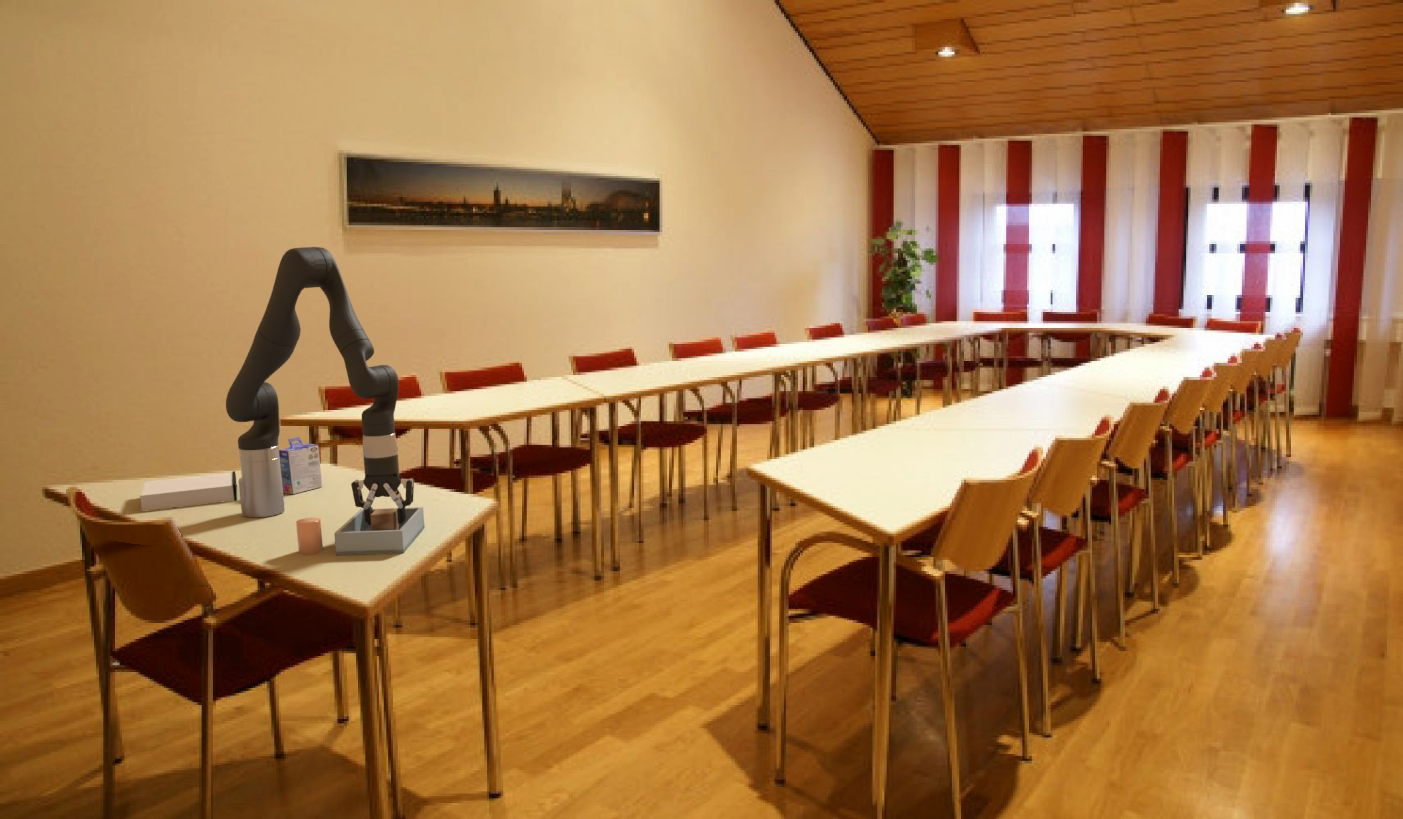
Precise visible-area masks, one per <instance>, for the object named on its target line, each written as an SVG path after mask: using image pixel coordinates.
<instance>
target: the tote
mask: <svg viewBox="0 0 1403 819" xmlns="http://www.w3.org/2000/svg"><path fill="white" fill-rule="evenodd" d="M393 508H394V507H393ZM393 508H392V507H389V508H388V507H387V508H385V507H384V508H383V509H393ZM376 509H377V508H373V512H374V511H375V510H376ZM405 513H406V519H405V521H404V522H403V523H402V524H399V527H400V529H399V530H384V531H372V528H371V525H368V523H366V521H365V513H364V509H363V508H360V510H358V511H357V512H356V513H355V514H354V515H352V516H351V517H350V518H349V519H348V520H347V521H346V522H345V523H344V524H343V525H342V526H341V527H339V528H338V529H337V530H336V531H335V532H334V543H335V556H350V555H352V556H354V555H355V556H357V555H384V554H385V555H386V554H387V555H388V554H405V552H406V551H407V550H408V548H410V546H411V545H412V544H413V543H414V541H415V540H416V538H418V537H419V535H420V534H421V533H422V532H423V530H424V529H425V519H424V518H425V516H424V507H423V506H418V507H417V506H416V507H405Z"/></svg>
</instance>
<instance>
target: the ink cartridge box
mask: <svg viewBox="0 0 1403 819" xmlns="http://www.w3.org/2000/svg"><path fill="white" fill-rule="evenodd" d="M287 440H288V442H289V443H288V444H289V446H290V447H285V448H281V449H279V456H280V467H281V477H282V487H283V494H284V493H285V494H289V495H295V494H299V493H303V492H307V491H310V490H315V489H319V488H323V479H322V469H321V460H320V448H319V445H318V444H313V443H303V442H302V440H301V437H298V436H297V437H294V438H289V439H287ZM294 441H296V442H295V443H292V442H294ZM297 441H298V442H297Z"/></svg>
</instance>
